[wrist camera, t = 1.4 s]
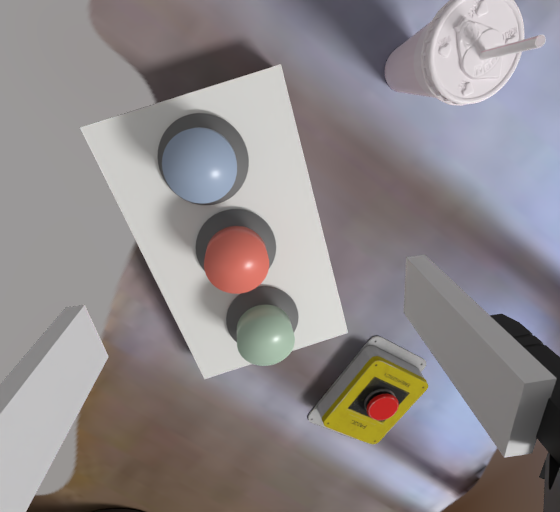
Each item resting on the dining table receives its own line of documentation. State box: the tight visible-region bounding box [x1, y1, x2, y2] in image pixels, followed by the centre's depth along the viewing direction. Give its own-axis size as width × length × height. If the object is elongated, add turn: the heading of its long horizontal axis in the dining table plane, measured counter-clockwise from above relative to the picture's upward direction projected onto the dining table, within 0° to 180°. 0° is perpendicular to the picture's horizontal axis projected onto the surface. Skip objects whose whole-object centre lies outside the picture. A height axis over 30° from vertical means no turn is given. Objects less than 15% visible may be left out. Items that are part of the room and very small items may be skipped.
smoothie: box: [385, 0, 545, 106], centre depth 23 cm, size 6×6×14 cm
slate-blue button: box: [162, 127, 237, 203], centre depth 25 cm, size 5×5×2 cm
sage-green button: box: [237, 305, 295, 366], centre depth 31 cm, size 5×5×2 cm
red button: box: [204, 226, 269, 294], centre depth 28 cm, size 5×5×2 cm
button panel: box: [80, 64, 348, 379], centre depth 32 cm, size 16×26×3 cm, turn 16°
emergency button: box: [308, 336, 428, 444], centre depth 42 cm, size 9×4×15 cm
